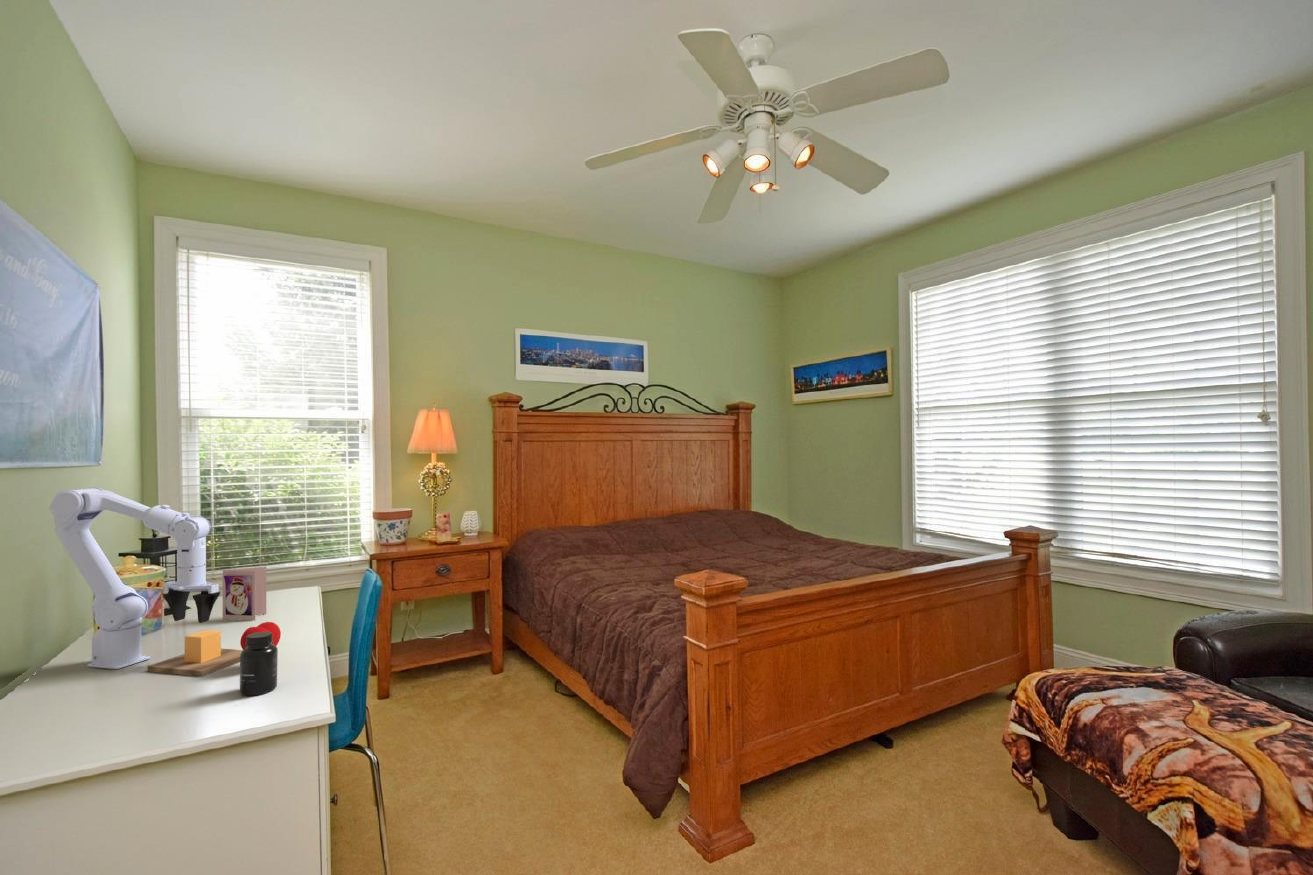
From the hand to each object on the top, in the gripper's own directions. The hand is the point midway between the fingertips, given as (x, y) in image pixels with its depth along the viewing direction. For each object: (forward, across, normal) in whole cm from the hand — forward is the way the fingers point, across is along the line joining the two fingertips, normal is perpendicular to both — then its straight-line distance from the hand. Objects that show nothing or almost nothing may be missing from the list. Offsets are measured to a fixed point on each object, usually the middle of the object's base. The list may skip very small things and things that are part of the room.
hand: (191, 620), depth 153 cm
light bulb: (+10, +22, -1) cm, 24 cm away
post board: (+9, +6, -2) cm, 11 cm away
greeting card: (+10, -20, +34) cm, 41 cm away
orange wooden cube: (+8, +6, -2) cm, 10 cm away
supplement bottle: (+10, +34, -13) cm, 38 cm away
